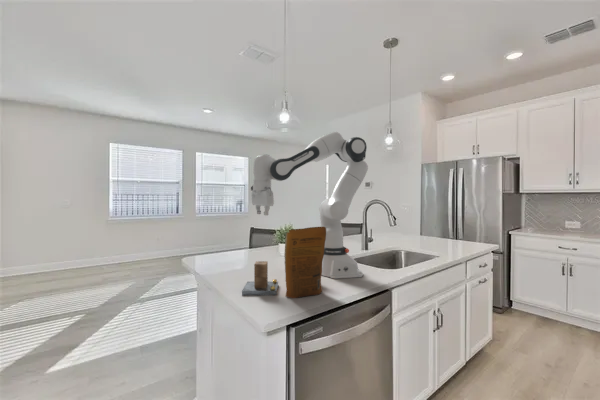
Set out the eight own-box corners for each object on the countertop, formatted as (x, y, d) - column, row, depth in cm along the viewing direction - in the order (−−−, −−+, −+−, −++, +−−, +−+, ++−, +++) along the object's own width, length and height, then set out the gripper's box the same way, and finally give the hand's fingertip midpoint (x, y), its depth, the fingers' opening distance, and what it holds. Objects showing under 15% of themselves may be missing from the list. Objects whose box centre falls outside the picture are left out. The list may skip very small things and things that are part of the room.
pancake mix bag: (330, 294, 113) (330, 226, 112) (286, 301, 106) (286, 229, 105) (322, 289, 119) (322, 225, 119) (280, 295, 112) (280, 227, 111)
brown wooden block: (267, 284, 121) (267, 261, 121) (266, 287, 116) (266, 264, 116) (256, 284, 121) (256, 261, 121) (254, 287, 116) (254, 264, 116)
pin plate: (278, 285, 124) (278, 273, 124) (276, 295, 112) (276, 281, 112) (247, 285, 124) (247, 273, 124) (241, 295, 112) (241, 281, 112)
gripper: (276, 186, 130) (276, 215, 130) (260, 187, 148) (260, 213, 148) (264, 186, 127) (264, 216, 127) (249, 187, 145) (249, 213, 145)
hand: (262, 214), depth 138 cm, fingers open, 8 cm apart
